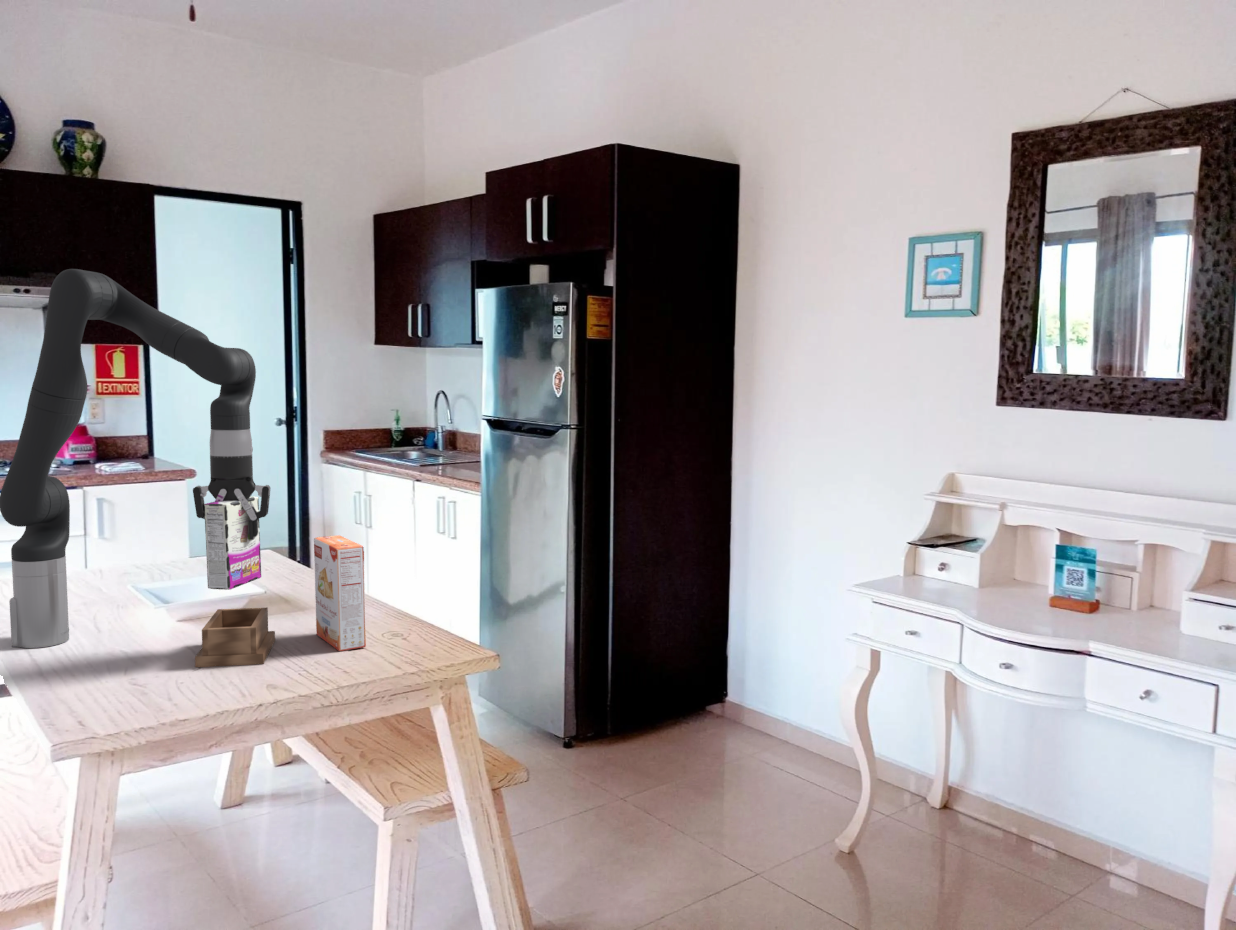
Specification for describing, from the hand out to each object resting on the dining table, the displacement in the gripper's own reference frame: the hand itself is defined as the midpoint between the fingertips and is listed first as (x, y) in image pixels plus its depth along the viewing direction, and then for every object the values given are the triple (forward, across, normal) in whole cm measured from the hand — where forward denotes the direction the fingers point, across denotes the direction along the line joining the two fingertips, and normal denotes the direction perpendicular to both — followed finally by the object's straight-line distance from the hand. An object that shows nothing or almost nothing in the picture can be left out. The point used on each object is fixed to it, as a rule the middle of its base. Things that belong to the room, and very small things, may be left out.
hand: (233, 539), depth 186 cm
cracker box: (+23, +19, +5) cm, 30 cm away
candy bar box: (+9, 0, 0) cm, 9 cm away
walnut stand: (+23, 0, 0) cm, 23 cm away
